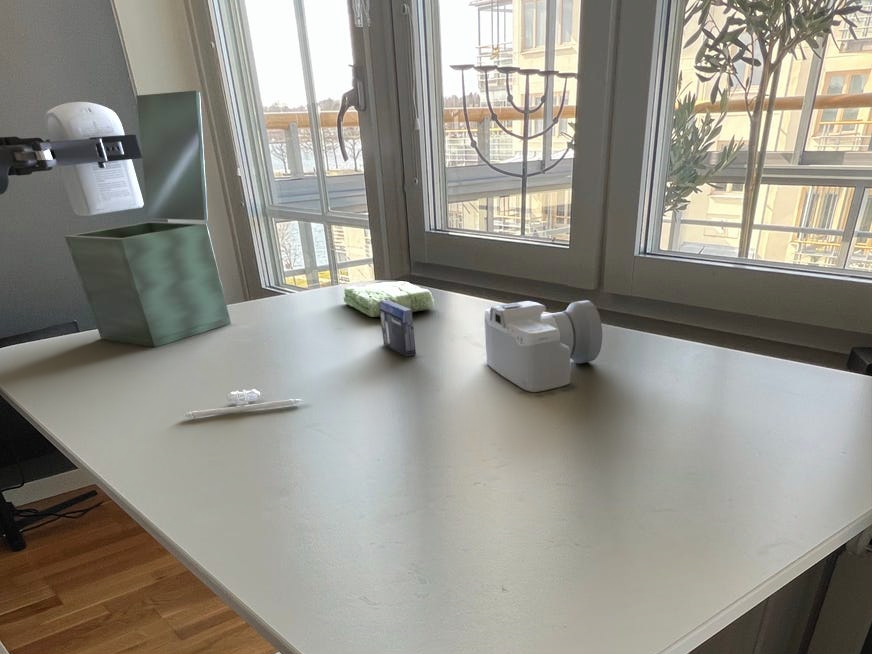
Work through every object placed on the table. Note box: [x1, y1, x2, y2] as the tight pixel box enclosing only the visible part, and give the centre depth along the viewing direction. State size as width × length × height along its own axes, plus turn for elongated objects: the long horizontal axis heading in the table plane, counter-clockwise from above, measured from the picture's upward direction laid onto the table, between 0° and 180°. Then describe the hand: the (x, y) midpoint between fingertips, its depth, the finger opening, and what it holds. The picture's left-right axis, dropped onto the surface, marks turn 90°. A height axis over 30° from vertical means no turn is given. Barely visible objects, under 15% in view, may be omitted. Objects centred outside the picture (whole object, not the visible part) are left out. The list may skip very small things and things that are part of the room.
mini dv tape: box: [379, 300, 417, 357], centre depth 101 cm, size 8×2×6 cm, turn 30°
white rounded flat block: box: [44, 101, 145, 217], centre depth 95 cm, size 10×4×12 cm, turn 152°
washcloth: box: [343, 281, 435, 318], centre depth 125 cm, size 13×18×3 cm
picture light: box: [183, 388, 303, 419], centre depth 85 cm, size 14×4×2 cm, turn 104°
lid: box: [135, 90, 209, 222], centre depth 111 cm, size 17×14×1 cm
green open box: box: [64, 221, 232, 348], centre depth 114 cm, size 16×14×15 cm
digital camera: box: [483, 299, 603, 393], centre depth 89 cm, size 17×14×10 cm
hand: (125, 146), depth 98 cm, fingers closed on white rounded flat block, 4 cm apart
